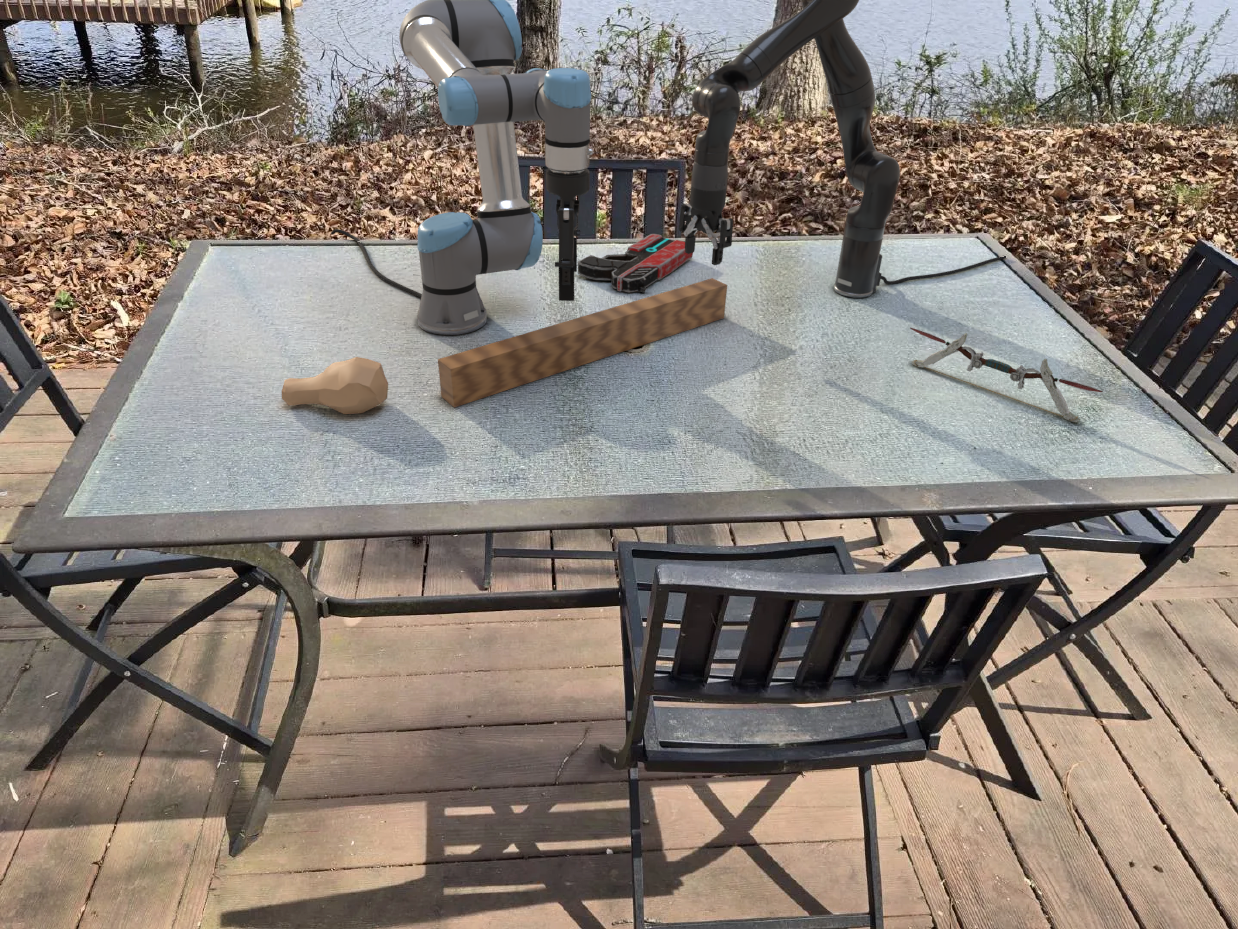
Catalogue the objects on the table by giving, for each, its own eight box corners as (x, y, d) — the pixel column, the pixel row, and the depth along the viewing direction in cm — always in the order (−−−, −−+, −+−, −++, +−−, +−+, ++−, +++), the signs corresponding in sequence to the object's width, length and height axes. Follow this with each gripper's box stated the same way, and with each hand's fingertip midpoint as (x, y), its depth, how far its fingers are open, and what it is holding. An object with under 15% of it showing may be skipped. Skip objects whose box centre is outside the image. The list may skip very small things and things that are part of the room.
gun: (571, 262, 216) (639, 281, 209) (634, 226, 238) (698, 242, 231) (571, 279, 219) (638, 298, 211) (633, 242, 241) (696, 258, 233)
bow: (1091, 425, 165) (1109, 378, 160) (1088, 428, 164) (1106, 381, 159) (904, 358, 187) (914, 315, 181) (900, 361, 186) (910, 317, 180)
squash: (388, 420, 161) (373, 382, 155) (283, 428, 163) (264, 391, 156) (399, 383, 169) (385, 345, 163) (299, 392, 170) (282, 354, 164)
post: (454, 407, 165) (450, 369, 161) (441, 397, 169) (437, 359, 164) (724, 318, 202) (727, 284, 198) (709, 310, 206) (712, 277, 201)
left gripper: (587, 190, 140) (586, 313, 152) (591, 149, 160) (589, 260, 172) (540, 189, 140) (543, 312, 151) (550, 148, 160) (551, 259, 172)
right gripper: (745, 189, 181) (737, 264, 190) (699, 173, 190) (693, 245, 199) (719, 195, 177) (712, 272, 186) (673, 178, 186) (668, 252, 195)
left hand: (568, 285), depth 162 cm, fingers open, 13 cm apart
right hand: (702, 258), depth 193 cm, fingers open, 8 cm apart
